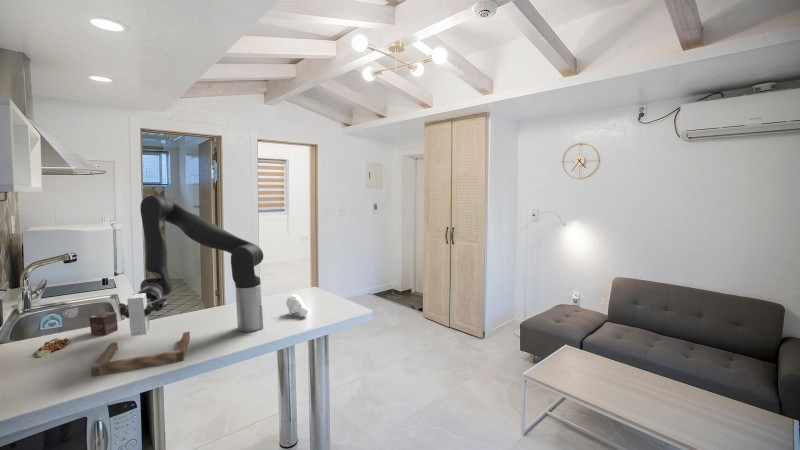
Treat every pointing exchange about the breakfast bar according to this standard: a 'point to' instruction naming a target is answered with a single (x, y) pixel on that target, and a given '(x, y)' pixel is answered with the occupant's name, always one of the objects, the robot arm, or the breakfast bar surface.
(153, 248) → the robot arm
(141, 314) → the skincare box
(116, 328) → the box
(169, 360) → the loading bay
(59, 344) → the pastry
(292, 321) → the breakfast bar surface
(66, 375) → the breakfast bar surface
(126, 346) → the breakfast bar surface
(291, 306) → the white lumpy piece
